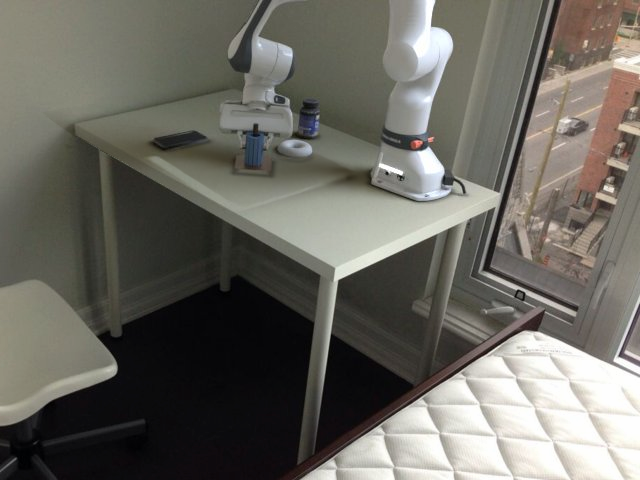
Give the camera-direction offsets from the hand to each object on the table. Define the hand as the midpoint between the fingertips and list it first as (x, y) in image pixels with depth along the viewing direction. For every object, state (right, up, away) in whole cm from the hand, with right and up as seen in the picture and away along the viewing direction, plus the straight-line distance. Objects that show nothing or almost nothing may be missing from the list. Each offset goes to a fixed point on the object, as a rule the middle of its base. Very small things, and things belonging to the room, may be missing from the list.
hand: (254, 149), depth 197 cm
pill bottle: (+17, +10, +27) cm, 33 cm away
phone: (-22, +5, +17) cm, 28 cm away
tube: (0, -3, +3) cm, 4 cm away
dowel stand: (0, -4, +4) cm, 6 cm away
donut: (+12, +1, +13) cm, 18 cm away
